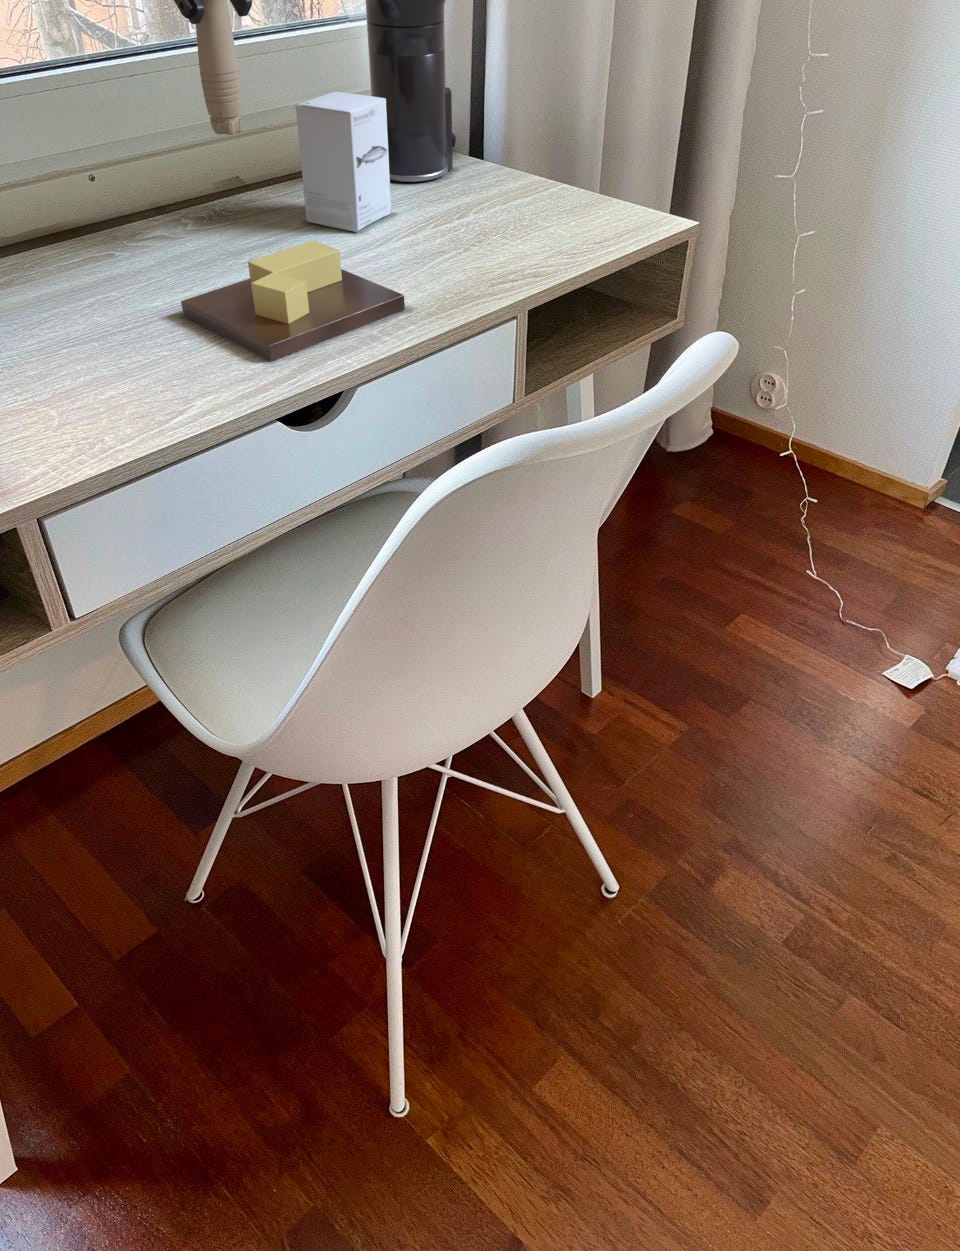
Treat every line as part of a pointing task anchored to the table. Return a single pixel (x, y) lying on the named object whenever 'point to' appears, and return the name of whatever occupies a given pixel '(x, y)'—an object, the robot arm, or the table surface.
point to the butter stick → (301, 265)
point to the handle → (219, 68)
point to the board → (274, 339)
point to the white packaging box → (344, 159)
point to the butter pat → (280, 298)
